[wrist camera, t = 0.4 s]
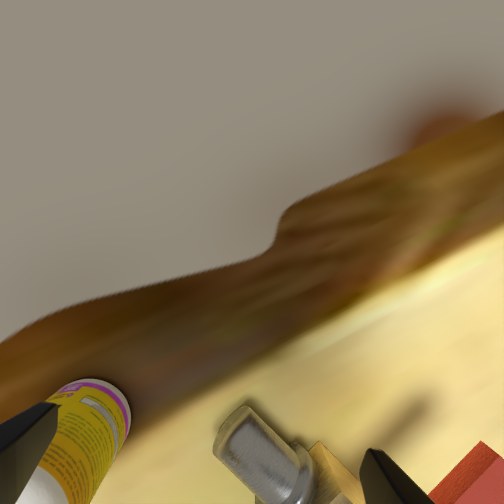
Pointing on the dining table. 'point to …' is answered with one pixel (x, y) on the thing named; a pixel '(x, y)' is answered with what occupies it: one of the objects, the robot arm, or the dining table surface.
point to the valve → (282, 465)
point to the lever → (473, 479)
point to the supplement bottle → (80, 444)
